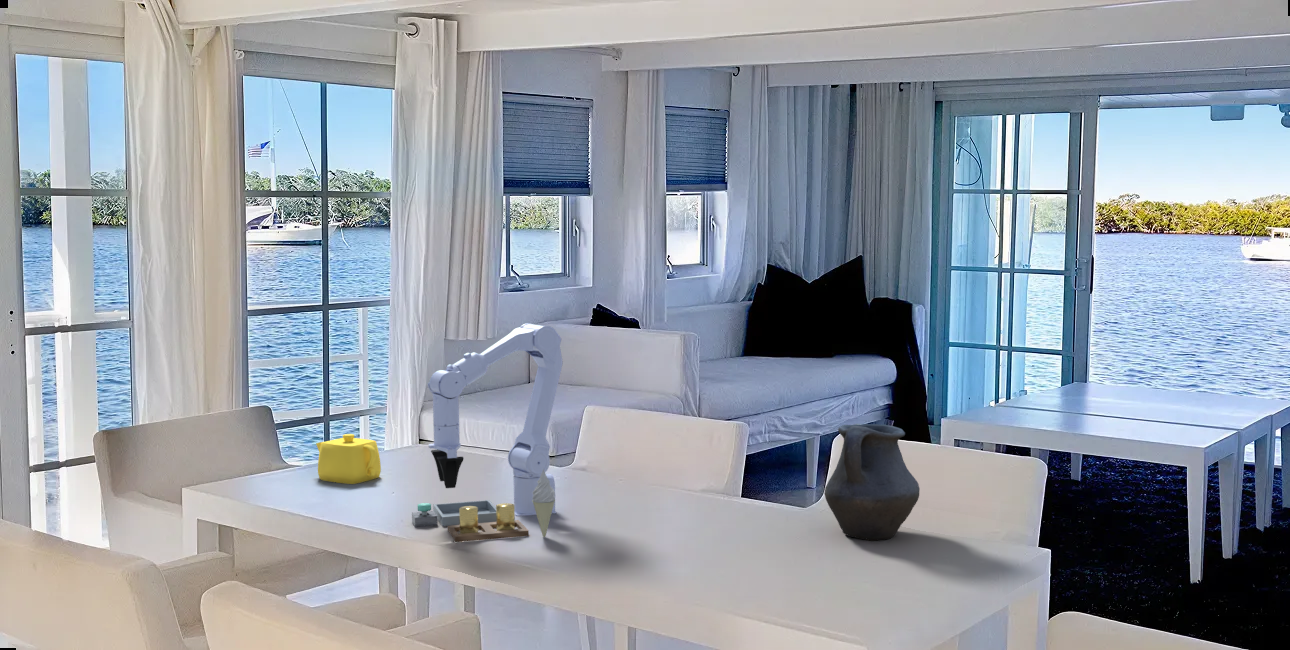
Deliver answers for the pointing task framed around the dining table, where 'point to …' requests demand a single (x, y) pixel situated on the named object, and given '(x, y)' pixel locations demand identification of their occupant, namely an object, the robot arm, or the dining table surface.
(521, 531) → the board
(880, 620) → the dining table surface
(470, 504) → the tray
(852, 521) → the pitcher
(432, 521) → the button housing
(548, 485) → the ice cream cone
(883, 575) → the dining table surface
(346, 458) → the teapot
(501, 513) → the cylinder
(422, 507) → the button
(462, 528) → the block
